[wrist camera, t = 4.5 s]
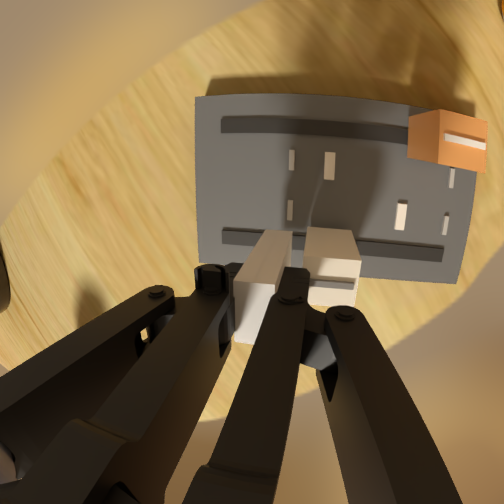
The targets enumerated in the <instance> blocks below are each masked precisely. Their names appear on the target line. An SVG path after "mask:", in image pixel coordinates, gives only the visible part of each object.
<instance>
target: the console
mask: <svg viewBox="0 0 504 504" xmlns="http://www.w3.org/2000/svg"><path fill="white" fill-rule="evenodd" d="M429 111H433V110H431V109H426V108H421V107H416V106H410V105H405V104H399V103H393V102H386V101H379V100H371V99H363V98H354V97H343V96H331V95H315V94H286V93H258V94H229V95H213V96H201V97H195V176H196V209H197V232H198V252H199V263H209V264H220V265H227V264H229V263H231V262H235V263H245V261H246V259H247V258H248V256H249V255H250V253H251V252H252V250H253V248H254V247H255V245H256V244H257V242H258V241H259V239H260V237H261V236H262V234H263V233H264V231H265V230H266V229H269V230H282V231H293V232H292V250H291V266H290V267H297V268H303V255H304V248H305V242H306V235H307V227H319V228H331V229H343V230H351V231H352V234H353V237H354V239H355V242H356V245H357V248H358V251H359V254H360V257H361V260H362V262H361V269H360V275H359V277H365V278H378V279H391V280H405V281H418V282H433V283H447V284H456V283H457V279H458V275H459V271H460V268H461V263H462V259H463V255H464V250H465V246H466V241H467V236H468V231H469V225H470V220H471V214H472V207H473V200H474V192H475V184H476V174H477V172H476V171H471V170H467V169H462V168H457V167H452V166H447V165H442V164H436V163H432V162H427V161H422V160H417V159H412V158H407V151H408V124H409V117H410V116H413V115H417V114H421V113H425V112H429Z"/></svg>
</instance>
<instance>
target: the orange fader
mask: <svg viewBox="0 0 504 504" xmlns="http://www.w3.org/2000/svg"><path fill="white" fill-rule="evenodd" d="M486 154H487V121H484V120H481V119H477V118H474V117H470V116H466V115H463V114H459V113H455V112H451V111H447V110H443V109H437V110H433V111H429V112H425V113H421V114H417V115H413V116H410V117H409V124H408V151H407V158H412V159H417V160H422V161H427V162H432V163H436V164H442V165H447V166H452V167H457V168H462V169H467V170H471V171H476V172H480V173H485V168H486Z"/></svg>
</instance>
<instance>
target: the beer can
mask: <svg viewBox="0 0 504 504" xmlns="http://www.w3.org/2000/svg"><path fill="white" fill-rule="evenodd" d="M502 16H503V20H504V0H502Z"/></svg>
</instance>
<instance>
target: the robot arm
mask: <svg viewBox="0 0 504 504" xmlns="http://www.w3.org/2000/svg"><path fill="white" fill-rule="evenodd" d="M292 232H293V231H282V230H269V229H266V230H265V231H264V233H263V234H262V236H261V237H260V239H259V241H258V242H257V244H256V245H255V247H254V248H253V250H252V252H251V253H250V255H249V256H248V258H247V259H246V261H245V263H235V262H231V263H229V264H227V265H225V266H224V265H220V264H205V265H201V266H198V267H196V268H195V269H194V274H195V287H196V289H195V290H194V292H193V293H192V294H191V295H190V296H189V297H175V296H174V291H173V289H172V288H170V287H168V286H163V285H155V286H152V287H148V288H146V289H144V290H142V291H141V292H139V293H137V294H136V295H134V296H132V297H130V298H129V299H127V300H125V301H124V302H122V303H120V304H119V305H117V306H115V307H114V308H112V309H110V310H109V311H107V312H105V313H104V314H102V315H100V316H99V317H97V318H95V319H94V320H92V321H90V322H89V323H87V324H85V325H84V326H82V327H80V328H79V329H77V330H75V331H74V332H72V333H70V334H69V335H67V336H65V337H64V338H62V339H61V340H59V341H57V342H56V343H54V344H52V345H51V346H49V347H48V348H46V349H44V350H43V351H41V352H40V353H38V354H36V355H35V356H33V357H32V358H30V359H28V360H27V361H25V362H24V363H22V364H20V365H19V366H17V367H16V368H14V369H12V370H11V371H9V372H8V373H6V374H5V375H3V376H1V377H0V504H164V497H165V490H166V487H167V485H168V483H169V481H170V479H171V477H172V475H173V473H174V470H175V469H176V466H177V464H178V462H179V460H180V458H181V456H182V454H183V452H184V450H185V448H186V446H187V443H188V441H189V439H190V437H191V435H192V433H193V431H194V429H195V426H196V424H197V422H198V420H199V418H200V416H201V414H202V411H203V409H204V407H205V405H206V403H207V401H208V398H209V396H210V394H211V392H212V390H213V388H214V385H215V383H216V381H217V379H218V377H219V375H220V372H221V370H222V368H223V366H224V364H225V361H226V359H227V357H228V355H229V352H230V350H231V337H232V335H233V333H234V339H235V342H240V343H246V344H253V345H254V346H253V348H252V351H251V354H250V357H249V359H248V362H247V365H246V368H245V370H244V373H243V376H242V378H241V381H240V384H239V386H238V389H237V392H236V394H235V397H234V400H233V402H232V405H231V407H230V410H229V413H228V415H227V418H226V420H225V423H224V426H223V428H222V431H221V433H220V436H219V438H218V441H217V443H216V446H215V449H214V451H213V453H212V456H211V458H210V460H209V462H208V463H207V464H206V465H202V466H201V467H200V468H199V469H198V470H197V472H196V474H195V476H194V478H193V480H192V482H191V485H190V487H189V489H188V491H187V493H186V496H185V498H184V500H183V502H182V504H273V502H274V498H275V493H276V489H277V484H278V480H279V475H280V471H281V466H282V461H283V456H284V451H285V446H286V441H287V435H288V430H289V425H290V419H291V414H292V408H293V402H294V397H295V390H296V384H297V378H298V372H299V365H300V363H301V364H304V365H306V366H309V367H312V368H315V369H316V376H317V380H318V384H319V387H320V391H321V395H322V399H323V402H324V406H325V410H326V414H327V418H328V421H329V425H330V429H331V433H332V437H333V441H334V444H335V449H336V453H337V457H338V461H339V465H340V468H341V473H342V477H343V481H344V485H345V489H346V494H347V498H348V502H349V504H463V503H462V501H461V499H460V496H459V494H458V492H457V490H456V487H455V485H454V483H453V481H452V478H451V476H450V474H449V472H448V470H447V467H446V465H445V463H444V461H443V459H442V457H441V455H440V453H439V451H438V449H437V447H436V445H435V443H434V440H433V439H432V437H431V435H430V433H429V431H428V429H427V427H426V425H425V423H424V421H423V419H422V417H421V415H420V413H419V411H418V409H417V407H416V406H415V404H414V402H413V400H412V398H411V396H410V395H409V393H408V391H407V389H406V387H405V385H404V383H403V382H402V380H401V378H400V376H399V375H398V373H397V371H396V369H395V367H394V366H393V364H392V362H391V361H390V359H389V357H388V355H387V353H386V352H385V350H384V348H383V347H382V345H381V343H380V341H379V340H378V338H377V336H376V335H375V333H374V331H373V330H372V328H371V326H370V325H369V323H368V321H367V320H366V318H365V316H364V315H363V314H362V313H361V312H360V310H358V309H356V308H354V307H351V306H347V305H338V306H333V307H330V308H328V310H327V311H326V313H323V312H320V311H317V310H315V309H313V308H312V307H311V306H310V305H309V304H308V292H309V282H310V272H309V271H308V270H307V269H306V268H297V267H290V266H291V250H292ZM9 301H10V292H9V284H8V279H7V275H6V271H5V267H4V264H3V261H2V258H1V255H0V313H2V312H3V311H5V310H6V309H7V308H8V306H9ZM145 328H146V330H147V335H148V338H147V339H145V340H142V338H141V333H140V331H142V330H143V329H145ZM21 478H22V479H21ZM18 479H20V480H18Z"/></svg>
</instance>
